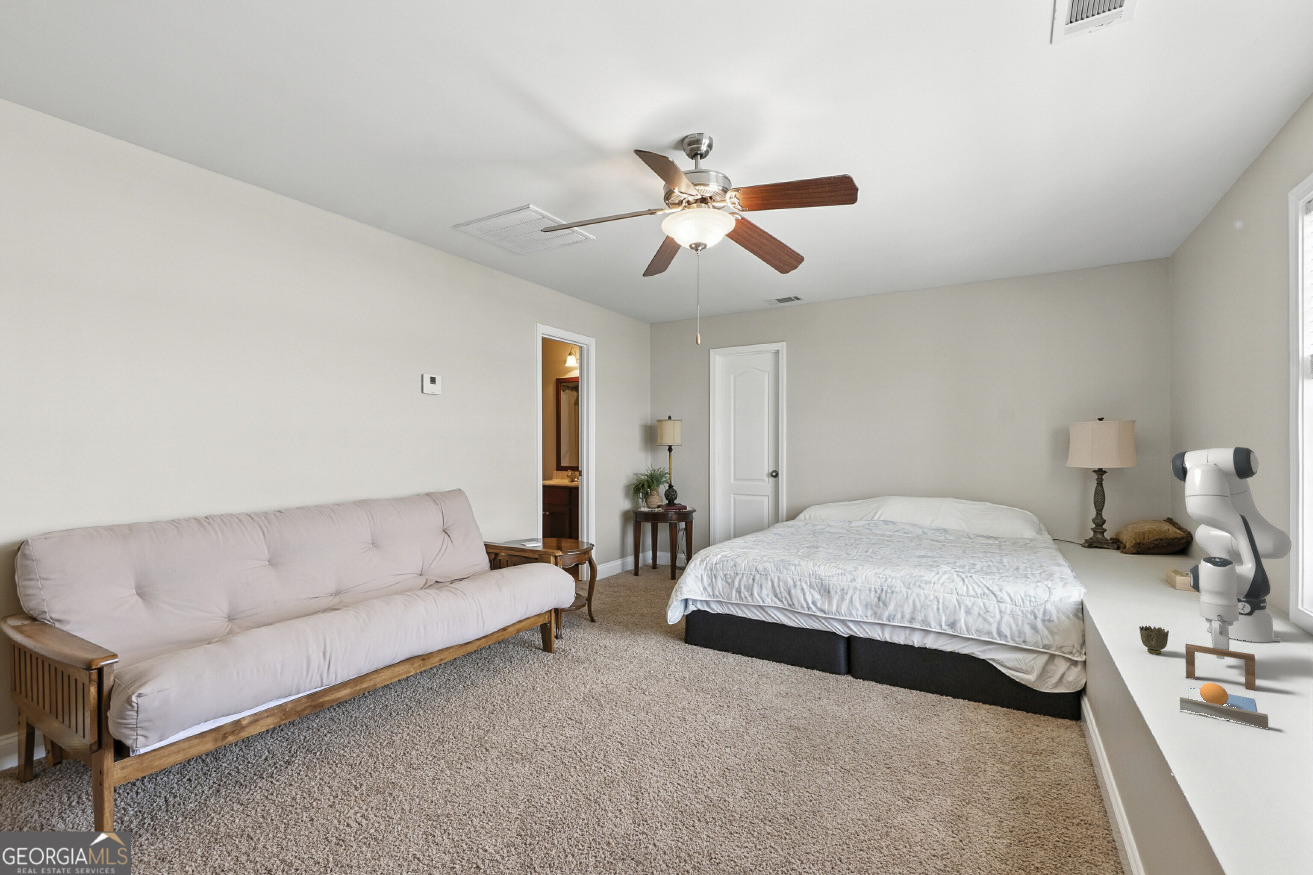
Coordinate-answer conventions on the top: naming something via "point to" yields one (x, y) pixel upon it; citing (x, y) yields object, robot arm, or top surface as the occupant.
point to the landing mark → (1240, 702)
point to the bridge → (1249, 658)
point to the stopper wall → (1225, 712)
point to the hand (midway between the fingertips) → (1220, 657)
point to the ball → (1214, 693)
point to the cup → (1154, 639)
